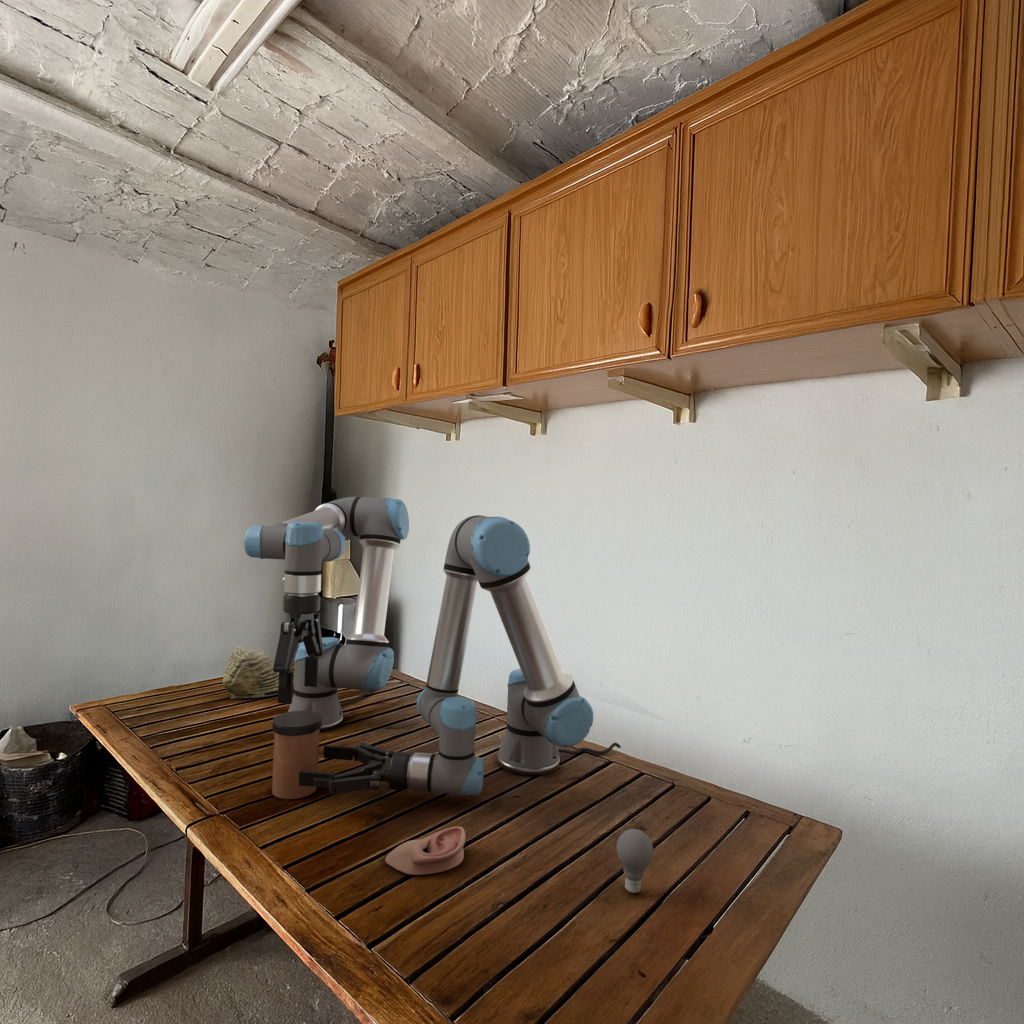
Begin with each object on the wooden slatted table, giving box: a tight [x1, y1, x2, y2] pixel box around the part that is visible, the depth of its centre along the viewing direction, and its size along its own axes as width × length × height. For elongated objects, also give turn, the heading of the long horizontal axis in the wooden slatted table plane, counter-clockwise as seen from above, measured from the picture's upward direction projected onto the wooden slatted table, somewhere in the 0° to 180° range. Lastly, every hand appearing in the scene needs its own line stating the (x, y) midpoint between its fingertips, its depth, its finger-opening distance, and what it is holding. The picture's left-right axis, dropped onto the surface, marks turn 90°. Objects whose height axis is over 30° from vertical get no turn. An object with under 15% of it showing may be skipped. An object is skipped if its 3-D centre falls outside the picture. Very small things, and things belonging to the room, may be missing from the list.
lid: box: [271, 711, 322, 736], centre depth 137 cm, size 10×10×2 cm
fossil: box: [222, 646, 279, 699], centre depth 198 cm, size 9×18×15 cm, turn 132°
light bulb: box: [615, 828, 654, 894], centre depth 106 cm, size 6×6×10 cm
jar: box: [271, 729, 321, 800], centre depth 137 cm, size 9×9×15 cm
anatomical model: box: [384, 826, 466, 876], centre depth 113 cm, size 13×4×12 cm
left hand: (298, 694), depth 136 cm, fingers open, 11 cm apart
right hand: (312, 764), depth 135 cm, fingers open, 13 cm apart
